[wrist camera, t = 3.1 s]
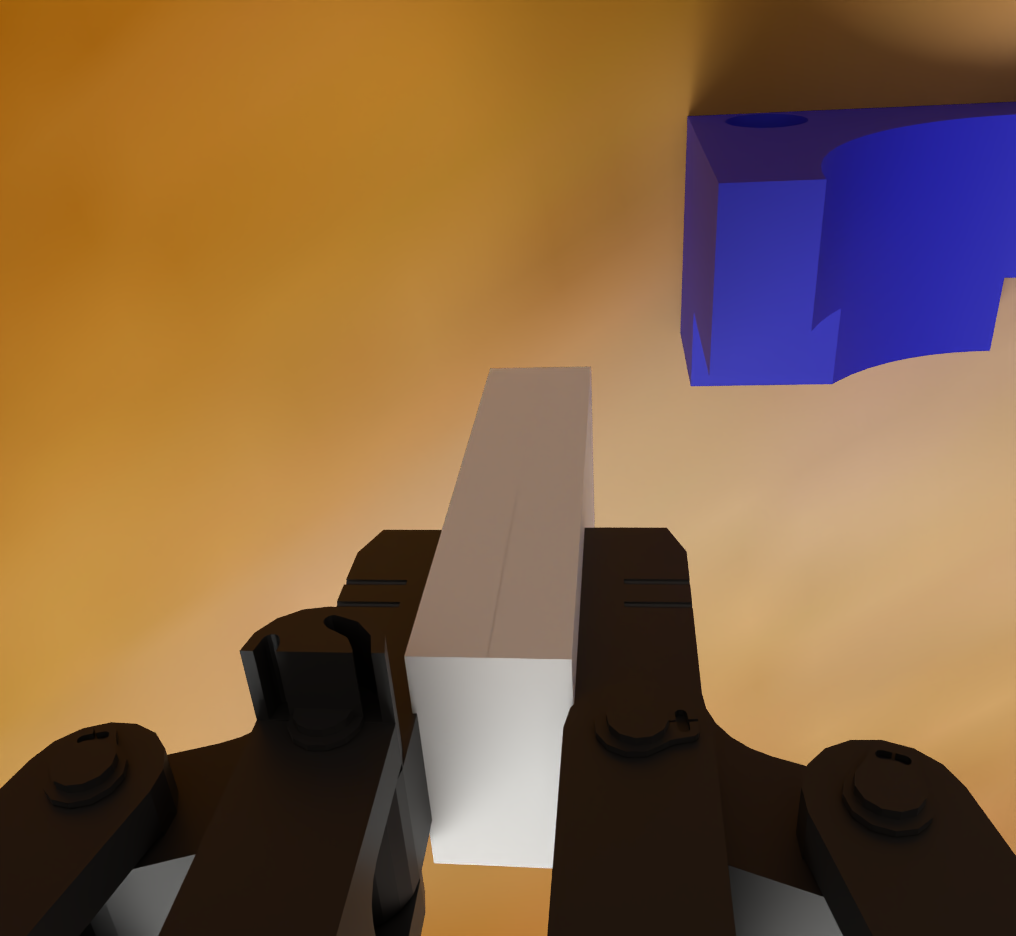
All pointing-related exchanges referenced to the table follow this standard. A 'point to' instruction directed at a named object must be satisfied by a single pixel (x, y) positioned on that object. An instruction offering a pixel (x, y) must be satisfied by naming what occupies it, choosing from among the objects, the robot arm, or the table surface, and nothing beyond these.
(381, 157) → the table surface
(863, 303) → the cable clip
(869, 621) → the table surface
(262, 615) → the table surface
